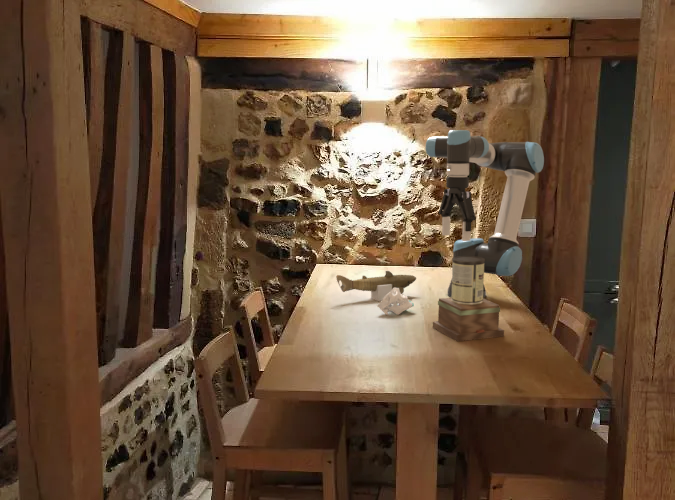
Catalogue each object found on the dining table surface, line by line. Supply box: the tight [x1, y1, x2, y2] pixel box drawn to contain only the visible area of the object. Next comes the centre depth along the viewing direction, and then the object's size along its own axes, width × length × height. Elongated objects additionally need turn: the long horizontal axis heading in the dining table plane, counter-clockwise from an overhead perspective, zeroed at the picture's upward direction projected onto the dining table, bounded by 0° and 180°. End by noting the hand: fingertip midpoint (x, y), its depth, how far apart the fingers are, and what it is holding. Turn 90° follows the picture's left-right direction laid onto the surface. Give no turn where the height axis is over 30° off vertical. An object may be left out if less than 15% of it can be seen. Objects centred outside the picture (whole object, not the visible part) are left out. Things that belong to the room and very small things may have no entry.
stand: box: [432, 297, 505, 342], centre depth 204 cm, size 17×16×10 cm
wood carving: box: [335, 270, 417, 302], centre depth 247 cm, size 9×35×11 cm, turn 114°
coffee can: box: [451, 256, 485, 305], centre depth 203 cm, size 10×10×14 cm
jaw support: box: [376, 288, 414, 316], centre depth 228 cm, size 12×9×10 cm
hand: (455, 237), depth 217 cm, fingers open, 13 cm apart
